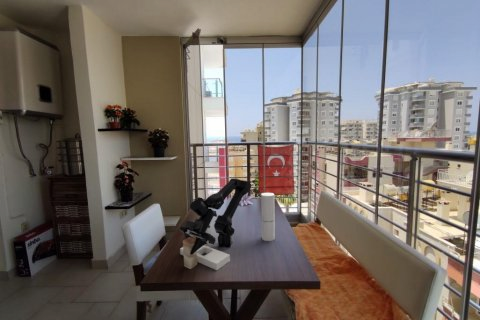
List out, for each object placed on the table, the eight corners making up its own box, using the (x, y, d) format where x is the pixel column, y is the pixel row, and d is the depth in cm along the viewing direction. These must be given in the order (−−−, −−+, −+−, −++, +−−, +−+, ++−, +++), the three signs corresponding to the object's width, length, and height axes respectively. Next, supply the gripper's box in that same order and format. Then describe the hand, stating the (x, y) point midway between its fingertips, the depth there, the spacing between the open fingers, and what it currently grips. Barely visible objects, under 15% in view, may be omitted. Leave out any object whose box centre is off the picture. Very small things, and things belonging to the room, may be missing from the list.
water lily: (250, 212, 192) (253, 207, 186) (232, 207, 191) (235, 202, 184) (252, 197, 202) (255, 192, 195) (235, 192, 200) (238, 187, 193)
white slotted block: (194, 246, 121) (194, 241, 121) (230, 260, 107) (229, 254, 106) (180, 254, 114) (180, 248, 113) (216, 270, 100) (216, 263, 99)
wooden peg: (191, 262, 106) (189, 237, 105) (197, 264, 104) (195, 239, 102) (184, 266, 103) (182, 240, 102) (190, 269, 101) (188, 242, 99)
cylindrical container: (273, 235, 132) (273, 192, 130) (275, 240, 125) (275, 195, 122) (261, 235, 132) (260, 192, 129) (262, 241, 125) (262, 196, 122)
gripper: (181, 208, 109) (162, 239, 102) (210, 216, 98) (191, 252, 91) (194, 219, 117) (178, 249, 109) (222, 227, 106) (206, 261, 98)
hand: (187, 252), depth 102 cm, fingers closed on wooden peg, 4 cm apart
